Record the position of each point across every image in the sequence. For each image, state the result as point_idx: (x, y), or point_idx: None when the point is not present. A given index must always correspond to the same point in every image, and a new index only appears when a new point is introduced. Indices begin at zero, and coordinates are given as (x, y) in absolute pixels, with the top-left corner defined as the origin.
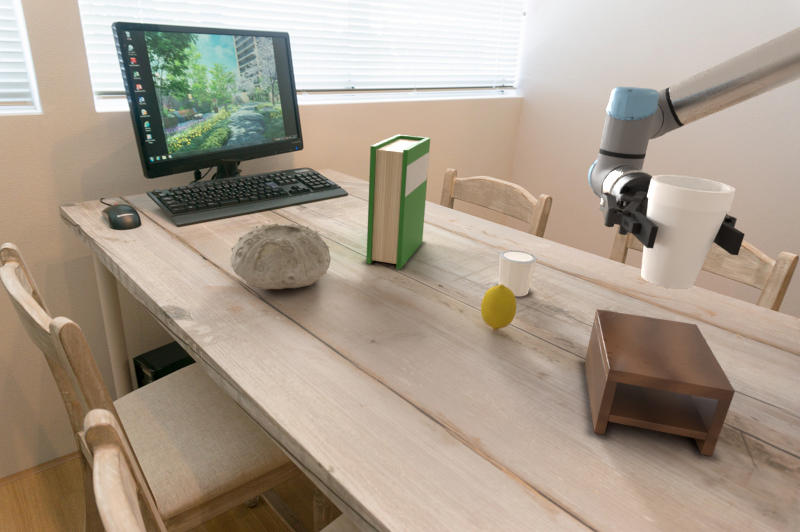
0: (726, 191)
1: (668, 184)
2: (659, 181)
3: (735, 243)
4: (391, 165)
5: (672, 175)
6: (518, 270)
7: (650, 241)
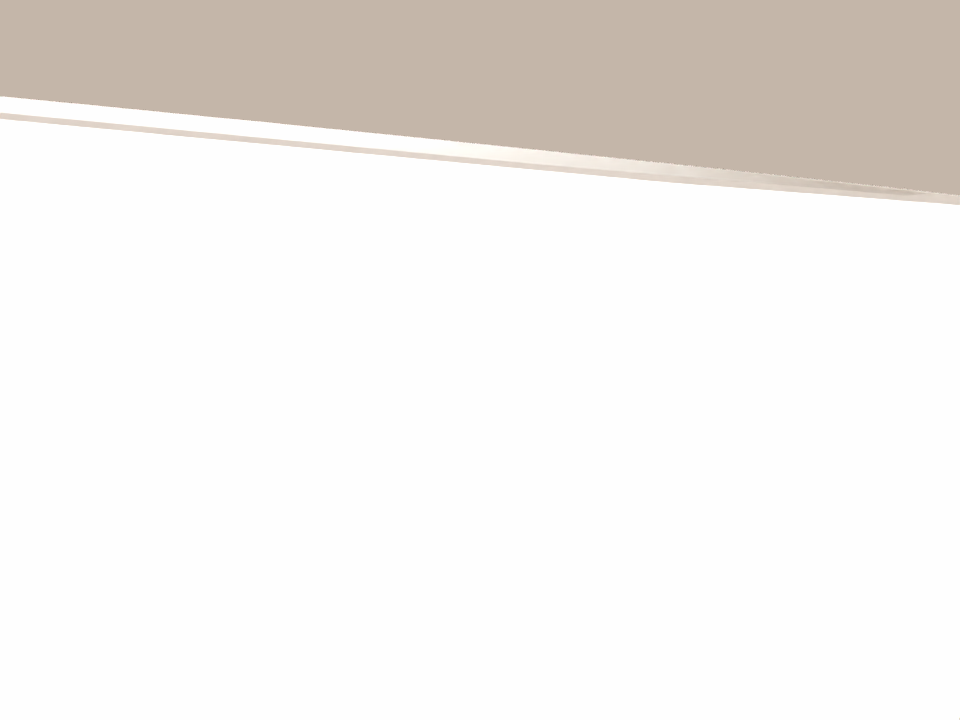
0: (136, 110)
1: (744, 173)
2: (866, 185)
3: None
4: None
5: (24, 116)
6: None
7: None
